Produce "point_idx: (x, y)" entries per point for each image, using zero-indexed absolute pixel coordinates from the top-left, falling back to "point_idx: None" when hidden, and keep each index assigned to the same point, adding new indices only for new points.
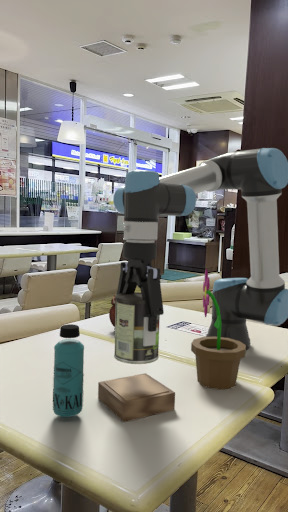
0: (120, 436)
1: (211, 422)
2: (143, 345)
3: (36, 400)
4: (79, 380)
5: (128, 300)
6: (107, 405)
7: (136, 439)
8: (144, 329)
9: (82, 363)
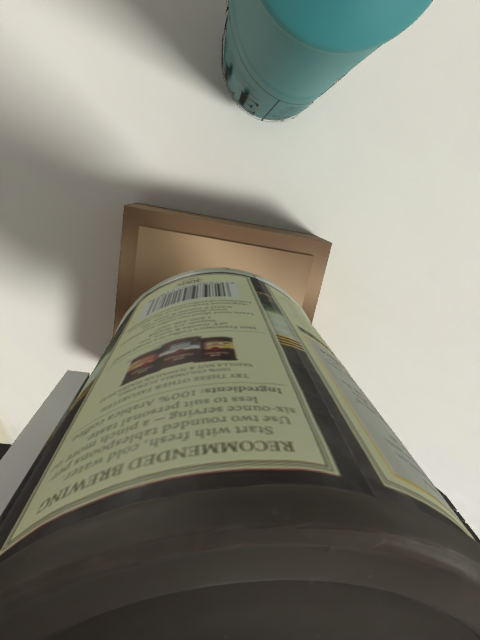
0: (66, 139)
1: (7, 398)
2: (82, 372)
3: (443, 47)
4: (230, 36)
5: (31, 573)
6: (247, 223)
7: (26, 168)
8: (35, 432)
9: (249, 35)
